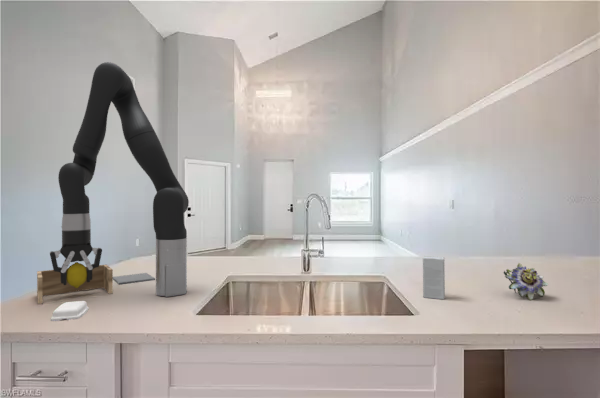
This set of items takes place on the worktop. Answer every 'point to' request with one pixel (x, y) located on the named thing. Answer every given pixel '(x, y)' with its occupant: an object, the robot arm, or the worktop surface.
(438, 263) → the skincare box
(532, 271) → the passion flower
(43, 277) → the open u-shaped oak frame
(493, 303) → the worktop surface
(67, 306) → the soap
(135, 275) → the slate coaster
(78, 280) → the lemon
